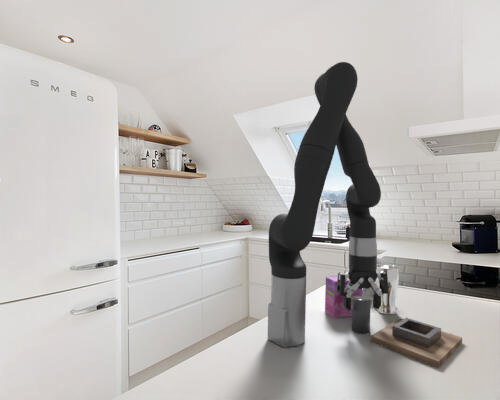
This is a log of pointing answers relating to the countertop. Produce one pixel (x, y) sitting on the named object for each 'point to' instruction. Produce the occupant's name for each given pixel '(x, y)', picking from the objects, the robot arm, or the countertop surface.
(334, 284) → the box
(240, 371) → the countertop surface
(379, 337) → the mount
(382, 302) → the beer glass
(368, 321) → the grey rounded cylinder
